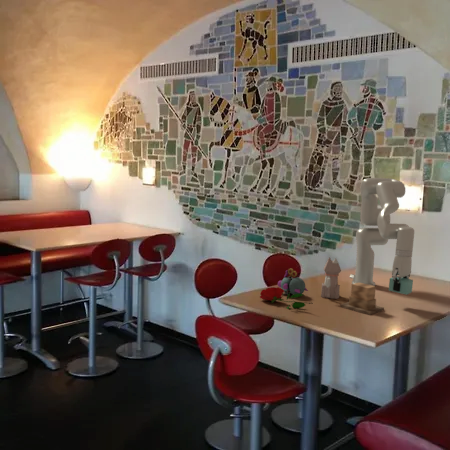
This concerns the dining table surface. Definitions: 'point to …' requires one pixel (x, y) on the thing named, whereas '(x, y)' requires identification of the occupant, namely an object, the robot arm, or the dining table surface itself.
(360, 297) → the tan block
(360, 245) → the robot arm
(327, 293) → the toy
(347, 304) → the pedestal board
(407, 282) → the teal brick
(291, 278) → the toy
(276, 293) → the flower
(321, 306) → the dining table surface
